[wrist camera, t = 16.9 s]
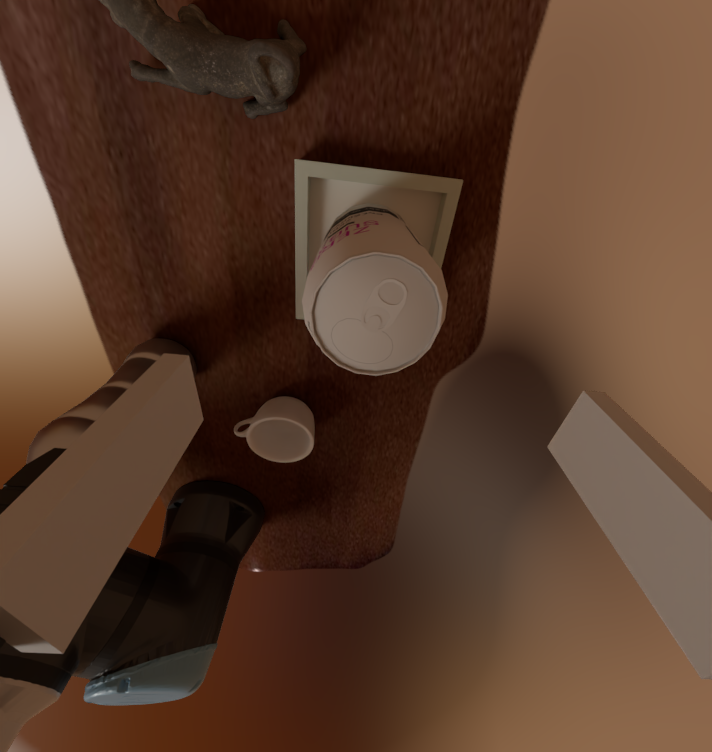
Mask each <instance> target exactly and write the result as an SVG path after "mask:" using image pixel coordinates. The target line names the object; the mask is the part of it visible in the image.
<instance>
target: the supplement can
mask: <svg viewBox="0 0 712 752" xmlns="http://www.w3.org/2000/svg"><path fill="white" fill-rule="evenodd" d="M447 299H448V293H447V289H446V285H445V281H444V277H443V273H442V270H441V269H440V267H439V266H438V265H437V263H436V262H435V261H434V259H433V258H432V257H431V255H430V254H429V253H428V252H427V250H426V249H425V248H424V246H423V245H422V244H421V242H420V241H419V240H418V238H417V237H416V236H415V235H414V233H413V232H412V231H411V229H410V228H409V227H408V225H407V224H406V223H405V222H404V220H403V219H402V218H401V216H400V215H399V214H397V213H396V212H394V211H392V210H391V209H389V208H387V207H386V206H383V205H376V204H370V203H366V204H362V205H358V206H354V207H351V208H349V209H348V210H346V211H345V212H344V213H342V214H341V215H340V216H338V217H337V218H336V219H335V221H334V222H333V224H332V225H331V227H330V228H329V230H328V231H327V233H326V236H325V238H324V240H323V242H322V245H321V247H320V249H319V251H318V254H317V256H316V258H315V260H314V262H313V265H312V267H311V269H310V271H309V274H308V276H307V280H306V284H305V289H304V293H303V298H302V305H303V312H304V319H305V325H306V326H307V328H308V330H309V332H310V334H311V335H312V337H313V339H314V341H315V343H316V344H317V345H318V346H319V347H320V349H321V351H322V352H323V353H324V354H325V355H326V356H327V357H329V358H330V359H331V360H332V361H333V362H334V363H335V364H336V365H338V366H340V367H342V368H345V369H347V370H349V371H352V372H354V373H356V374H365V375H374V376H378V375H383V374H389V373H394V372H398V371H400V370H402V369H404V368H406V367H408V366H410V365H412V364H414V363H416V362H417V361H418V360H419V359H420V358H421V357H422V356H423V355H424V354H425V353H426V352H427V351H428V350H429V349H430V348H431V346H432V344H433V342H434V340H435V338H436V336H437V334H438V332H439V330H440V328H441V326H442V324H443V322H444V320H445V315H446V307H447Z"/></svg>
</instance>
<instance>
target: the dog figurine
mask: <svg viewBox="0 0 712 752" xmlns="http://www.w3.org/2000/svg"><path fill="white" fill-rule="evenodd" d="M99 1H100V2H101V3H102V4H103V5H105V6H106V7H107V8H108V9H109V10H110V15H111V17H112V19H113V21H114V22H115V23H116V24H117V25H119V26H120V27H122V28H126V29H127V30H128V31H129V32H130V34H131V35H132V36H133V37H134V38H135V39H136V40H137V41H139V42H140V43H141V44H142V45H143V46H144V47H145V48H146V49H147V50H148V51H149V52H150V53H151V54H152V55H153V56H154V57H155V58H157V59H158V60H160V61H162V62H163V64H164V65H165V66H166V67H167V69H156V68H152V67H150V66H148V65H144V64H141V63H140V62H138V61H135V60H132V61H130V62H129V66H130V68H131V76H133V77H134V78H136V79H138V80H140V81H148V82H156V81H157V82H160V83H163V84H166V85H169V86H173V87H177V88H180V89H183V90H185V91H188V92H193V93H196V94H200V95H207V94H210V93H211V91H212V92H215V93H217V94H220V95H222V96H225V97H229V98H236V99H237V98H243V97H247V96H254V97H255V98H256V101H246V102H244V103H243V106H244V110H245V113H246V115H247V116H248V117H249V118H251V119H254V118H256V117H257V116H258V115H268V114H270V113H275V112H282V111H285V110H286V109H287V107H288V105H287V102H286V99H287V98H289V97H290V96H291V95H292V94H293V93H294V92H295V90H296V88H297V85H298V78H299V75H300V60H299V57H300V56H301V55H302V54H303V53H305V52H306V45H305V43H304V42H303V41H302V40H301V39H300V38H299V37H298V36H297V34H296V33H295V31H294V30H293V28H292V27H290V24H289V23H288V21H286V20H283V19H282V20H280V21H279V23H278V29H277V33H278V35H279V36H280V37H281V39H283V40H280V39H253V40H250V41H247V40H245V39H242V38H239V37H235V36H230V35H224V33H223V32H221V31H220V30H219V29H217V28H216V27H215V26H214V25H213V24H212V23H210V22H209V21H208V20H207V19H206V16H205V14H204V13H203V12H202V11H201V10H200V9H199V8H198V7H197V6H196V5H194V4H189V5H188V6H183V7H181V8H180V10H179V12H178V17H179V19H180V21H181V23H180V22H176V21H175V20H173V19H172V18H171V17H169V16H167V15H166V14H165V13H164V11H163V10H162V9H161V8H160V7H159V6H158V4H157V1H156V0H99Z"/></svg>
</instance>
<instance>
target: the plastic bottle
mask: <svg viewBox="0 0 712 752" xmlns="http://www.w3.org/2000/svg"><path fill="white" fill-rule="evenodd" d="M164 353H166V354H178V355H189V359H190V363H191V367H192V372H193V376H194V379H195V376H196V373H197V366H196V363H195V360H194V358H193V356H192V354H191V353H190V352H189V351H188V350H187V349H186V348H185V347H184V346H183V345H181V344H179V343H177V342H175V341H173V340H169V339H163V338H154V339H150V340H147V341H145V342H143V343H141V344H139V345H138V346H136V347H135V348H134V349H133V350H132V351H131V353H130V354H129V355H128V357H127V358H126V360H125V361H124V363H123V365H122V366H121V367H120V368H119V369H118V370H117V372H116V373H115V374H114V375H113V376H112V377H111V378H110V379H109V381H108V382H107V383H106V384H104V385H103V386H102V387H101V388H99V389H98V390H97V391H96V392H94V393H93V394H92V395H91V396H90V397H88V398H87V399H86V400H84V401H83V402H82V403H80V404H78V405H77V406H75V407H74V408H72V409H70V410H69V411H67V412H66V413H64V414H63V415H61V416H60V417H58V418H57V419H55V420H53V421H52V422H51V423H49V424H48V425H47V426H45V427H44V428H42V429H41V430H40V431H39V432H38V433H37V435H36V436H35V438H34V440H33V442H32V443H31V445H30V447H29V451H28V457H27V463H26V464H28V463H29V462H31V461H33V460H34V459H36V458H38V457H40V456H41V455H43V454H45V453H46V452H48V451H50V450H51V449H53V448H64V449H67V448H68V447H69V446H70V445H72V444H73V443H74V442H75V441H76V440H77V439H78V438H79V437H80V436H81V435H82V434H83V433H84V432H85V431H86V430H87V429H88V428H89V427H90V426H91V425H92V424H93V423H94V422H95V421H96V420H97V419H98V418H99V417H100V416H101V415H102V414H103V413H104V412H105V411H106V410H107V409H108V408H109V407H110V406H111V405H112V404H113V403H114V402H115V401H116V400H117V399H118V398H119V397H120V396H121V395H122V394H123V393H124V392H125V391H126V390H127V389H128V388H129V387H130V386H131V385H132V384H133V383H134V382H135V381H136V380H137V379H138V378H140V377H141V376H142V375H143V374H144V373H145V372H146V371H147V370H148V369H149V368H150V367H151V366H152V365H153V364H154V363H155V362H156V361H157V360H158V359H159V358H160V357H161V356H162V355H163V354H164Z"/></svg>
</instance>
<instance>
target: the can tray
mask: <svg viewBox="0 0 712 752" xmlns="http://www.w3.org/2000/svg"><path fill="white" fill-rule="evenodd" d="M462 184H463V180H461V179H455V178H447V177H439V176H431V175H422V174H414V173H406V172H398V171H390V170H382V169H374V168H366V167H358V166H350V165H341V164H333V163H325V162H317V161H309V160H301V159H295V279H296V319H304V312H303V305H302V298H303V293H304V289H305V284H306V280H307V276H308V274H309V271H310V269H311V267H312V265H313V262H314V260H315V258H316V256H317V254H318V251H319V249H320V247H321V245H322V242H323V240H324V238H325V236H326V233H327V231H328V230H329V228H330V227H331V225H332V224H333V222H334V221H335V219H336V218H337V217H338V216H340V215H341V214H342V213H344V212H345V211H346V210H348V209H349V208H351V207H354V206H358V205H362V204H366V203H370V204H376V205H383V206H386V207H387V208H389V209H391V210H392V211H394V212H396V213H397V214H399V215H400V216H401V218H402V219H403V220H404V222H405V223H406V224H407V225H408V227H409V228H410V229H411V231H412V232H413V233H414V235H415V236H416V237H417V238H418V240H419V241H420V242H421V244H422V245H423V246H424V248H425V249H426V250H427V252H428V253H429V254H430V255H431V257H432V258H433V259H434V261H435V262H436V263H437V265H438V266H439V267H440V269H441V267H442V263H443V259H444V255H445V251H446V247H447V244H448V240H449V236H450V232H451V228H452V224H453V220H454V216H455V212H456V208H457V204H458V200H459V196H460V192H461V188H462ZM304 320H305V319H304Z"/></svg>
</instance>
